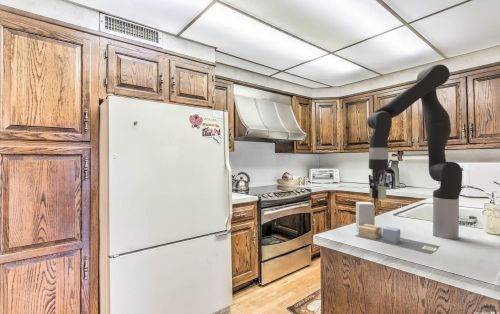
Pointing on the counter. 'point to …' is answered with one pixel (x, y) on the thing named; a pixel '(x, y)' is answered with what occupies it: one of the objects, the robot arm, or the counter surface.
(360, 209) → the supplement box
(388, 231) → the blue block
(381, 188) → the sage block
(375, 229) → the maple base
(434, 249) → the card
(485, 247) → the counter surface
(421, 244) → the mat
